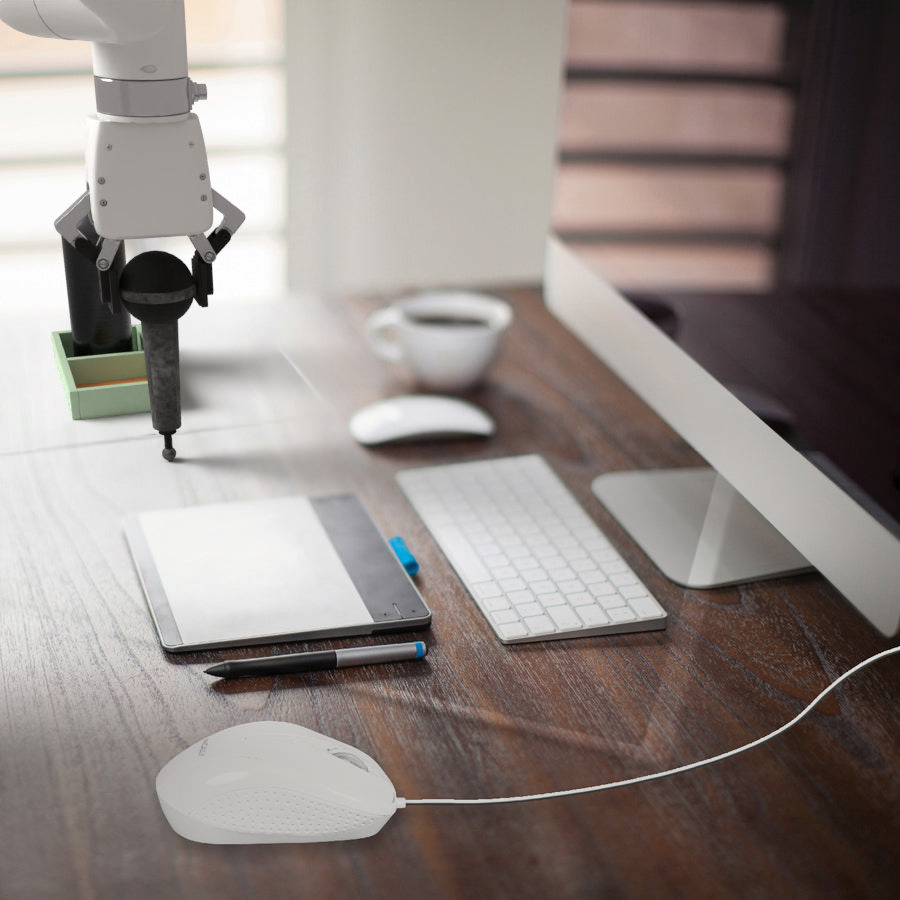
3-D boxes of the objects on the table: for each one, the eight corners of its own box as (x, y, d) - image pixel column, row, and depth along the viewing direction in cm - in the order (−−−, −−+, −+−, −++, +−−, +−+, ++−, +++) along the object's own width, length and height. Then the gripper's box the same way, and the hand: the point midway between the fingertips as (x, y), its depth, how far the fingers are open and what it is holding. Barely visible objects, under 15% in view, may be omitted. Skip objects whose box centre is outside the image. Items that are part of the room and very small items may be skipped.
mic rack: (73, 424, 114) (69, 391, 113) (54, 360, 130) (50, 331, 129) (174, 412, 118) (172, 381, 116) (144, 351, 134) (141, 323, 133)
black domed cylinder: (78, 379, 124) (61, 213, 116) (72, 360, 129) (55, 199, 122) (138, 373, 126) (125, 209, 119) (130, 354, 132) (116, 196, 124)
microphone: (117, 468, 105) (97, 256, 97) (157, 440, 111) (141, 238, 103) (183, 480, 104) (168, 265, 95) (219, 451, 110) (209, 247, 101)
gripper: (237, 91, 100) (244, 287, 108) (28, 94, 94) (51, 302, 101) (258, 103, 94) (264, 310, 101) (35, 107, 88) (60, 328, 95)
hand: (158, 305), depth 101 cm, fingers closed on microphone, 7 cm apart
